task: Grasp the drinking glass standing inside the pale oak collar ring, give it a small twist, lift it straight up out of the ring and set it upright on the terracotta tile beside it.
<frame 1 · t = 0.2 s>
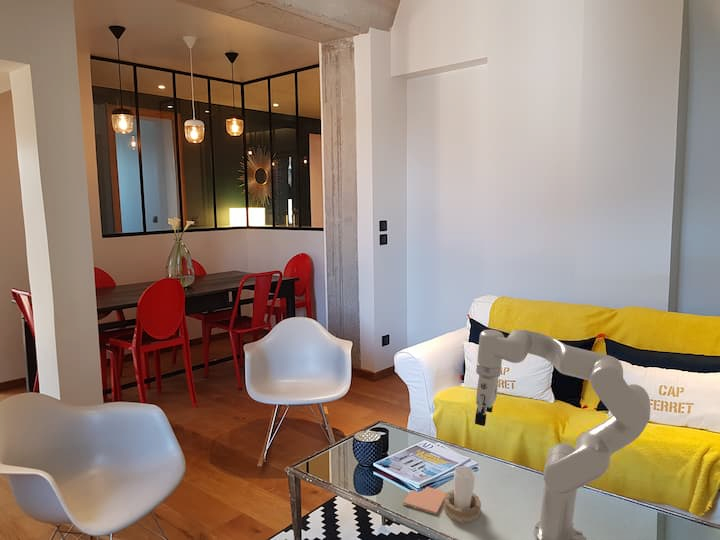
hand: (483, 417, 180), 36 cm above the table, tool pointing down, fingers open, 9 cm apart
terracotta tile: (425, 499, 195), on the table
drinking glass: (461, 511, 190), resting in collar ring
collar ring: (461, 510, 190), on the table
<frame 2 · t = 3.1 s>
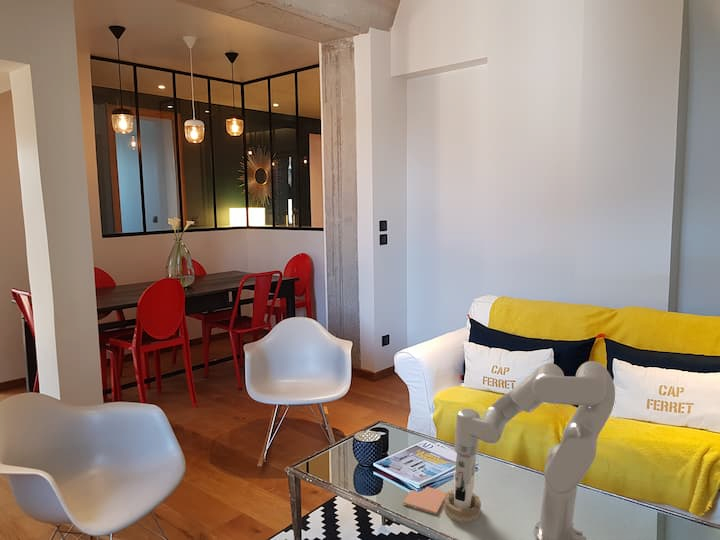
hand: (462, 493, 188), 7 cm above the table, tool pointing down, fingers closed on drinking glass, 6 cm apart
drinking glass: (461, 511, 190), resting in collar ring, touching gripper
when the fingers open (9 cm above the table, at t = 10.8 s): drinking glass drops 1 cm, resting on terracotta tile.
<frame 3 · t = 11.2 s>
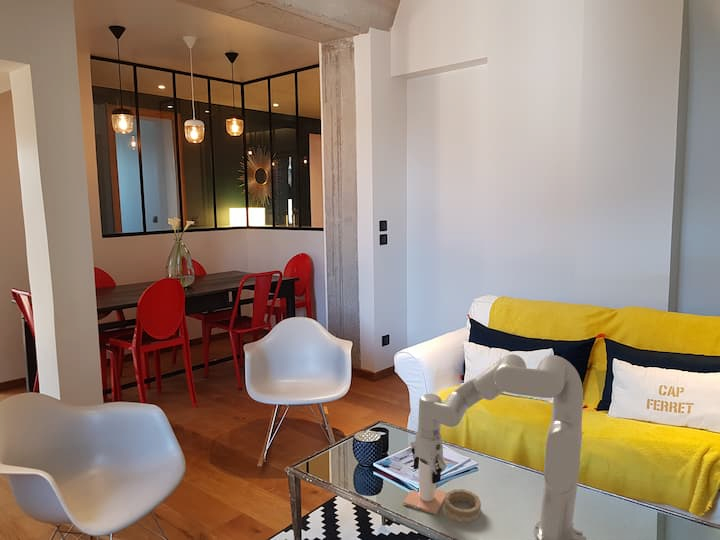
hand: (426, 474, 193), 10 cm above the table, tool pointing down, fingers open, 9 cm apart
drinking glass: (426, 498, 195), point 1 cm above the table, touching terracotta tile
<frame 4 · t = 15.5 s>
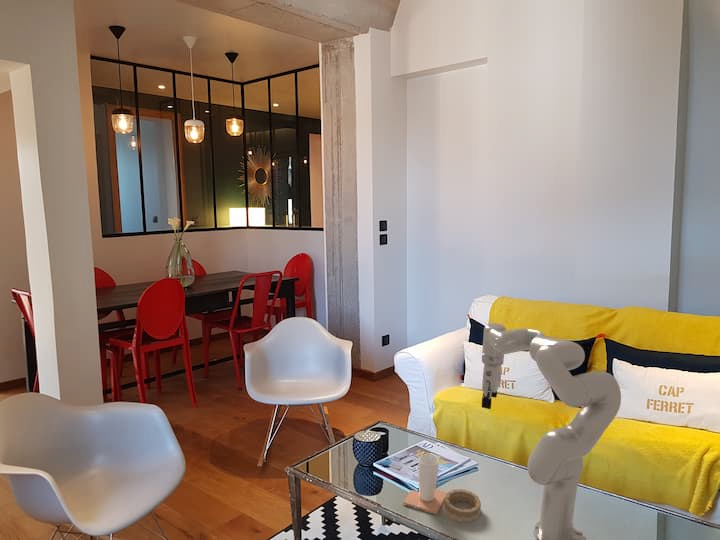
hand: (489, 402, 202), 30 cm above the table, tool pointing down, fingers open, 9 cm apart
nothing on the table moved.
at the end: drinking glass 0.5 cm off-centre on the terracotta tile, point 0.8 cm above the terracotta tile's base; drinking glass tilted 0°; the gripper is holding nothing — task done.
